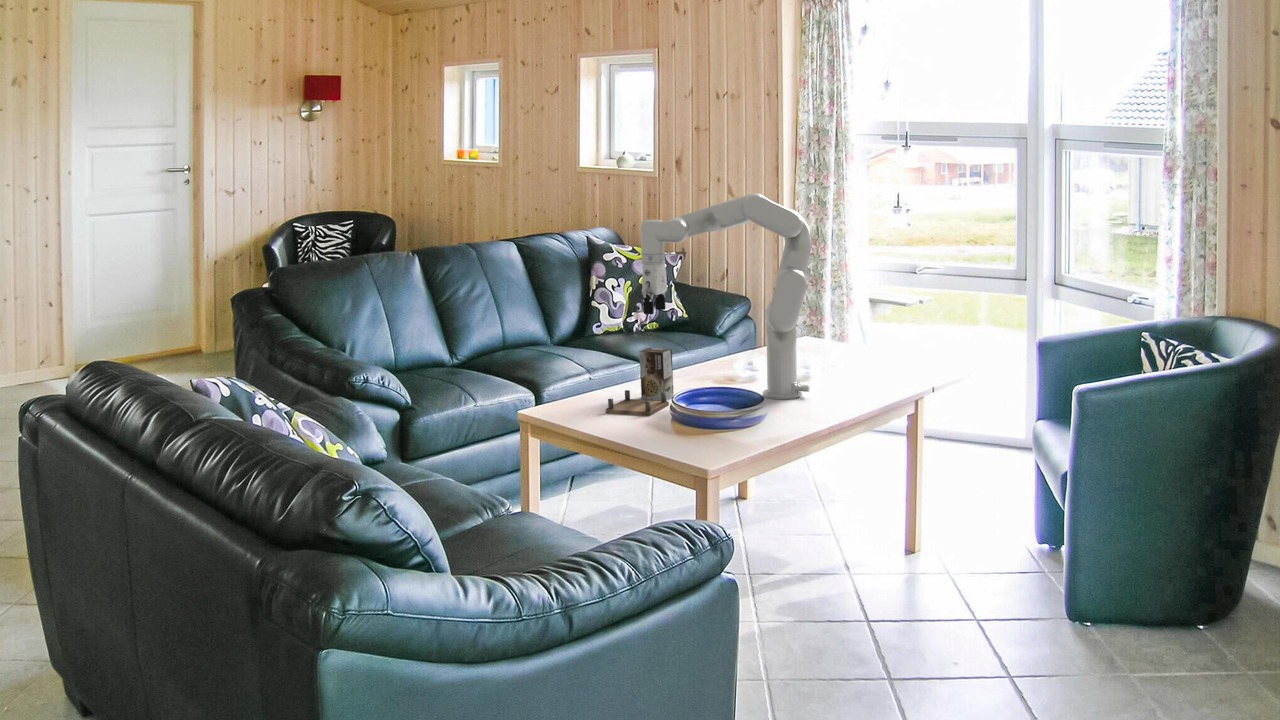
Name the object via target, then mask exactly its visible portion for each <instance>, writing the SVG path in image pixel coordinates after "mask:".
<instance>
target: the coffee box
mask: <svg viewBox="0 0 1280 720" xmlns="http://www.w3.org/2000/svg"><path fill="white" fill-rule="evenodd" d="M638 353H639V354H638V355H639V369H640V371H639V372H640V375H639V376H640V391H641V392H640V393H641V394H640V395H641V397H640V398H641V399H640V400H653V401H661V393H662V392H666V401H668V400H670V399H673V398H674V397H673V396H674V373H673V371H674V370H673V349H672V348H659V347H647V348H644V349H642V350H639V351H638ZM672 397H673V398H672Z"/></svg>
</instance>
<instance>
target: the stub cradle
mask: <svg viewBox="0 0 1280 720" xmlns="http://www.w3.org/2000/svg"><path fill="white" fill-rule="evenodd" d="M630 392H631V391H630V390H628V389H626V390H624V399H622V400H620V401H619V402H617V403H615V404H614V398H607V403H608V404H607V405H608V406H607V408H606V409H605V413H606V414H615V415H616V414H617V415H630V416H631V415H633V416H645V417H646V416H647V417H651V416H652V415H654V414H656V413H658V412H660V411H662V410H663V409H664V408H666V407H668V406H669V405H670V401H668V400H666V392H662V393H661V400H648V399H633V398H631V393H630Z"/></svg>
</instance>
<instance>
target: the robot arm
mask: <svg viewBox="0 0 1280 720" xmlns="http://www.w3.org/2000/svg"><path fill="white" fill-rule="evenodd" d="M749 223H754V224H755V225H757V226H759V227H762V228H763V229H765V230H767V231H770V232H771V233H774V234H776V235H778V236H780V237H782V238H783V239H784V246H783V251H782V255H781V259H780V264H779V268H778V271H777V273H776V275H775V279H774V285H775V286H774V290H773V294H772V299H771V301H770V302H769V303H768V305H766V306H767V307H766V310H765V327H766V329H765V330H766V331H765V332H766V376H767V378H766V382H767V383H766V384H767V389H764V390H763V391H762V396H763V397H764V398H767V399H771V400H772V399H773V400H788V399H789V400H791V399H796V398H800V397H801V396H802V395H803V394H802V393H804V392H805V393H808V392H809V393H810V390H811V389H810V385H808V384H801V383H800V380H797V379H798V373H797V372H798V370H797V369H798V368H797V364H798V363H797V324H798V320H799V317H800V315H801V314H800V313H801V311H802V307H803V304H804V300H805V296H806V291H807V285H808V284H807V279H806V275H807V274H806V273H807V270H808V266H809V261H810V256H811V251H812V246H813V245H812V244H813V240H812V239H813V238H812V233H811V230H810V228H809V225H808V223H807V221H806V220H805V219H804V217H803V216H802V215H800V213H798V212H797V211H796V210H795V209H791V208H787V207H784V206H782V205H780V204H778V203H776V202H774V201H772V200H770V199H769V198H767V197H766V196H764V195H763V194H761V193H758V192H756V193H755V192H754V193H749V194H745V195H742V196H740V197H736V198H733V199H730V200H726V201H722V202H720V203H717V204H713V205H710V206H708V207H705V208H701V209H699V210H696V211H692V212H689V213H685V214H682V215H679V216H675V217H672V218H671V219H668V220H661V219H645V220H643V221H641V223H640V245H641V246H640V249H641V250H640V251H641V264H642V279H641V280H642V281H641V282H642V283H641V285H642V288H641V296H642V303H643V314H644V315H654V312H655V311H654V301H653V300H654V295H655V310H661V311H663V310H664V311H665V310H666V292H667V291H668V280H667V279H668V278H667V268H666V249H665V248H666V246H665V245H666V244H665V243H671V244H681V243H682V242H684V241H685V240H687V239H688V238H691V237H693V236H697V235H700V234H705V233H711V232H721V231H726V230H729V229H731V228H732V229H733V228H735V227H739V226H742V225H746V224H749Z"/></svg>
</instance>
